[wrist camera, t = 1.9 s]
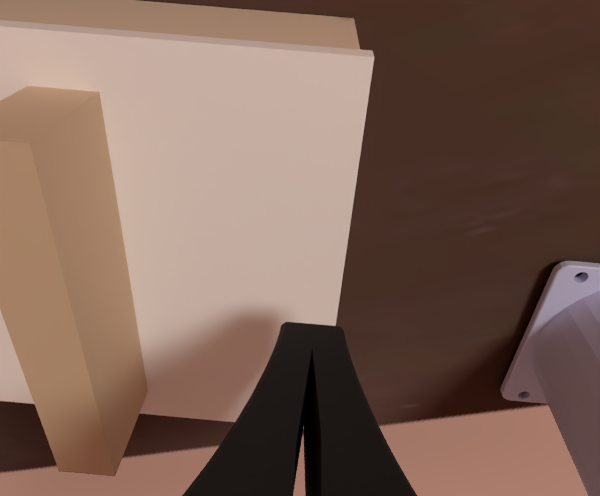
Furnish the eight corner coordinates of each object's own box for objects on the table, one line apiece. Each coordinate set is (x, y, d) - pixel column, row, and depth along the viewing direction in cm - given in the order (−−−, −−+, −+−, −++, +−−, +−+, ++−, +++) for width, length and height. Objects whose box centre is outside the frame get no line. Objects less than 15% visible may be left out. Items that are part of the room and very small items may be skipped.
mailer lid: (372, 50, 11) (386, 103, 8) (320, 415, 18) (318, 517, 15) (-373, -11, 11) (-643, 15, 8) (-133, 374, 18) (-227, 466, 15)
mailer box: (353, 18, 15) (361, 56, 11) (319, 312, 22) (316, 404, 18) (-159, -24, 15) (-343, -2, 11) (-37, 280, 22) (-123, 364, 18)
